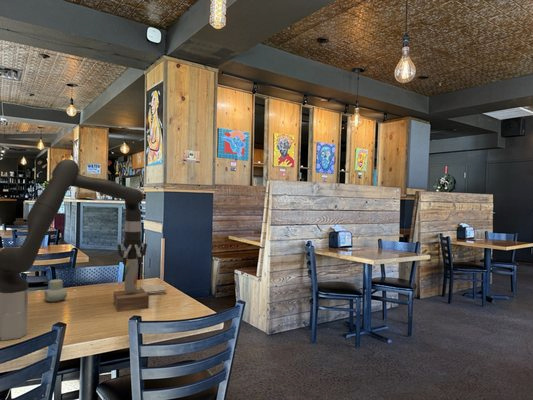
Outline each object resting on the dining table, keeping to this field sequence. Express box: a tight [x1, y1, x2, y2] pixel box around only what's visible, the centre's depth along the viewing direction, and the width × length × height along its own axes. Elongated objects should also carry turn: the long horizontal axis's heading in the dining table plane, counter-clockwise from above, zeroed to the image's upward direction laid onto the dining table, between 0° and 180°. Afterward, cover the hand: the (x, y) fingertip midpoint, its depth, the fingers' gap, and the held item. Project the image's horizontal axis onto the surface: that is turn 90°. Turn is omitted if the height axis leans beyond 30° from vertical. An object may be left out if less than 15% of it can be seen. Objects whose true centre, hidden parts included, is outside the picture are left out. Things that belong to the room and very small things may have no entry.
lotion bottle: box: [124, 250, 139, 292], centre depth 180 cm, size 6×6×20 cm
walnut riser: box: [113, 288, 150, 313], centre depth 180 cm, size 14×14×6 cm
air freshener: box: [43, 278, 68, 303], centre depth 185 cm, size 11×8×10 cm
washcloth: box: [139, 283, 167, 297], centre depth 209 cm, size 12×18×3 cm, turn 30°
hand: (131, 264), depth 180 cm, fingers closed on lotion bottle, 5 cm apart
